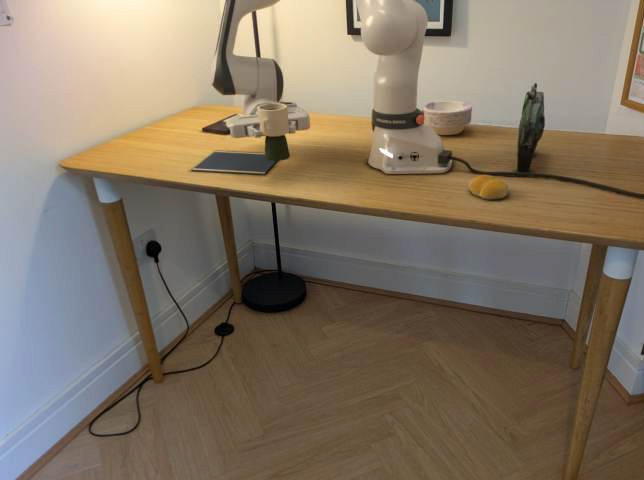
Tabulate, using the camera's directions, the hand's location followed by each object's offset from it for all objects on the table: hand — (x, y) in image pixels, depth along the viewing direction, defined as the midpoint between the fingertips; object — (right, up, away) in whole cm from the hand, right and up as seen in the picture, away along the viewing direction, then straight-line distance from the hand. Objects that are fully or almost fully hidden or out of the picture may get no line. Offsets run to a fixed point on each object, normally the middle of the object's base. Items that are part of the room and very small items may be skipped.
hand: (275, 132), depth 136 cm
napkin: (-13, -3, +17) cm, 22 cm away
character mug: (0, -6, +5) cm, 7 cm away
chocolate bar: (-23, +15, +48) cm, 55 cm away
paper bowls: (+47, +11, +39) cm, 62 cm away
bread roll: (+51, -15, -3) cm, 53 cm away
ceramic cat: (+65, -4, +15) cm, 67 cm away
